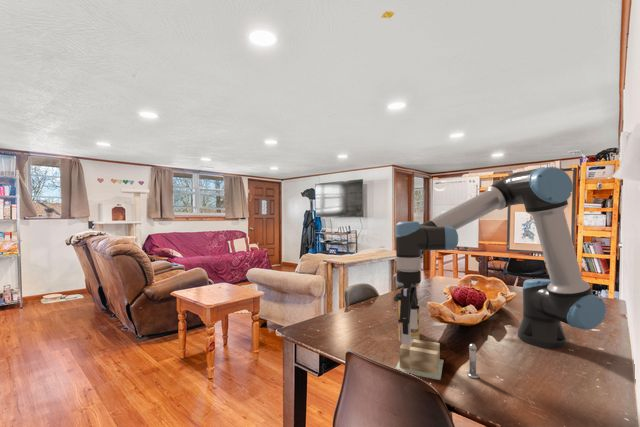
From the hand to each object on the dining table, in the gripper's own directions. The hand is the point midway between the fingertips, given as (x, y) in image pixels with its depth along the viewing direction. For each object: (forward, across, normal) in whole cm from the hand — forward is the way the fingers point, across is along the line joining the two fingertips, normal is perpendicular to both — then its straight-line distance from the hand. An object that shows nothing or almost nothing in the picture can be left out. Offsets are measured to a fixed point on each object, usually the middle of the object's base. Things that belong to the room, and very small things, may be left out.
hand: (410, 335), depth 101 cm
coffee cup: (+9, -27, -6) cm, 29 cm away
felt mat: (+9, 0, +3) cm, 9 cm away
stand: (+9, 0, +18) cm, 20 cm away
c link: (+8, 0, +3) cm, 9 cm away
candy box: (+9, -15, -3) cm, 18 cm away
